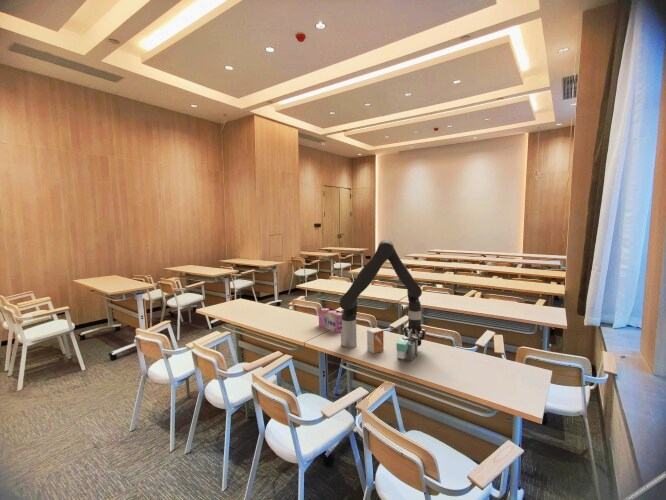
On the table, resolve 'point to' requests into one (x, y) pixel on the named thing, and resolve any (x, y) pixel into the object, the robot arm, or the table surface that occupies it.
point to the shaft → (404, 354)
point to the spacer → (402, 346)
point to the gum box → (330, 319)
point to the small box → (375, 340)
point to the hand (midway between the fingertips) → (414, 344)
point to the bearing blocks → (411, 349)
